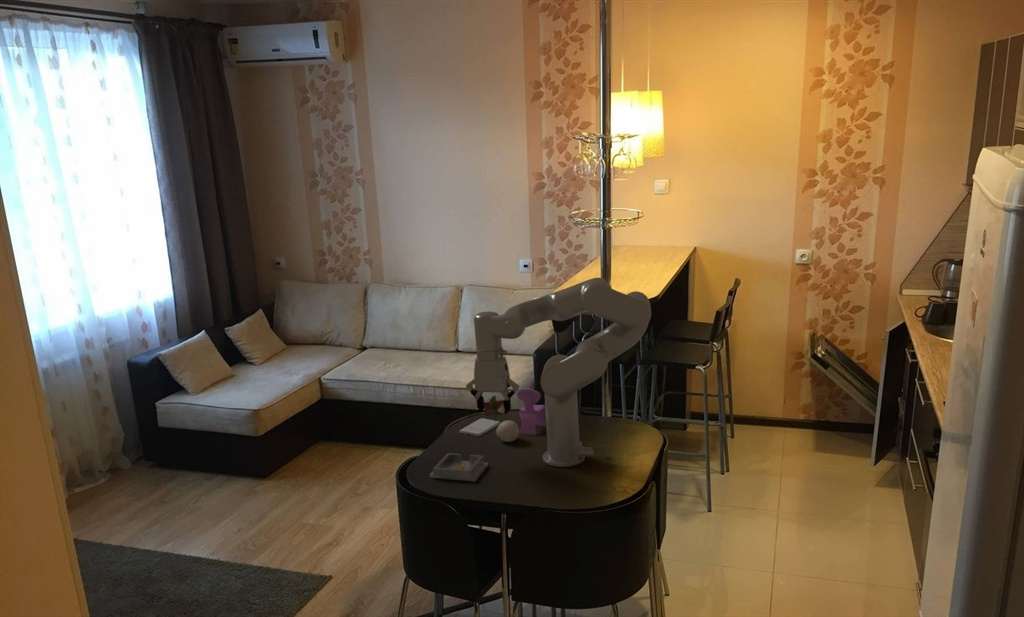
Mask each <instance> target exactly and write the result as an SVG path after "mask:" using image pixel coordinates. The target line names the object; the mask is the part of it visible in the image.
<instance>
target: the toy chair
mask: <svg viewBox="0 0 1024 617" xmlns="http://www.w3.org/2000/svg"><path fill="white" fill-rule="evenodd" d="M541 396H542V395H541V393H540V392H539V391H537V390H535V389H533V388H526V387H524V388H519V389H518V390H517V391H516V397H517V398H518V399H519V400H520V401H521V402H523V407H522V408H520V409H519V417H520V422H521V425H520V428H519V434H524V435H532V434H533V435H534V436H537V435H538V433H537V430H536V429H537V428H536V425H538V427H546V420H545V413H546V412H545V404H536V403H538V402H539V401H540V400H541ZM533 435H532V436H533Z"/></svg>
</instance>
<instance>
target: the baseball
mask: <svg viewBox="0 0 1024 617" xmlns="http://www.w3.org/2000/svg"><path fill="white" fill-rule="evenodd" d="M519 431H520V428H519V425H518V424H517V423H516V422H515V421H514V420H507V419H506V420H504V421H502V422H500V425H498V426H497V427H496V436H497V437H499V439H500V440H501V441H503V442H505V443H512V442H514V441H515V440H517V439H518V438H519V435H520V433H519Z"/></svg>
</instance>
